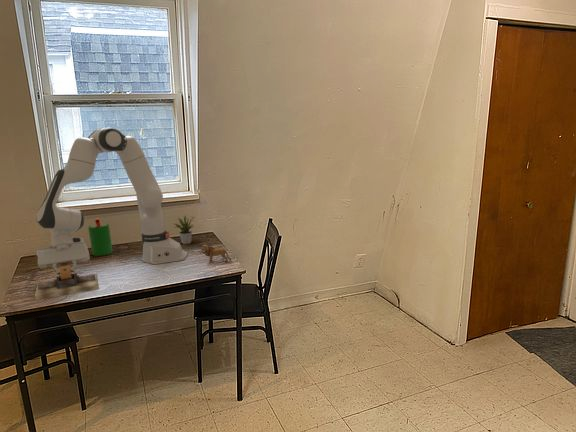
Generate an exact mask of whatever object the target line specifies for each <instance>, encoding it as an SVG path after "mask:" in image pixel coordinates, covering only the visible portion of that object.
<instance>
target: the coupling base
mask: <svg viewBox="0 0 576 432" xmlns="http://www.w3.org/2000/svg"><path fill="white" fill-rule="evenodd" d="M55 278H56V279H53V281H47V282H42V283H37V286H36V289H35V294H34V300H35V301H41V300H46V299H49V298H51V299H52V298H55V297H61V296H65V295H66V296H67V295H71V294H72V295H73V294H77V293H82V292H88V291H93V290H97V289H98V290H99V289H100V286H99V278H98V273H92V274H87V275H86V274H85V275H81V276H80V275H79V274H78V273H75V272H72V279H69V280H64V281H61V275H58V276H56V277H55Z"/></svg>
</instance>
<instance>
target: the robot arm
mask: <svg viewBox="0 0 576 432" xmlns="http://www.w3.org/2000/svg"><path fill="white" fill-rule="evenodd" d="M112 152H115V153H116V154H117V155H118V157H119V158H120V161H121V163H122V166H123V168H124V170H125V173H126V175H127V176H128V179H129V181H130V183H131V185H132V187H133V189H134V191H135V194H136V201H137V207H138V212H139V213H138V214H139V217H140V218H139V220H140V226H141V227H140V228H141V244H142V246H143V247H142V256H141V261H142V262H143V263H147V264H151V265H161V264H167V263H172V262H173V263H174V262H179V261H184V260H185V259H186V258H187V257H188V253H187V251H186V250H184V249H183V248H182V245H181V244H180V242H178V241H176V240H175V239H173V238H171V237H170V232H169V230H165V220H164V216H163V215H164V214H163V210H162V203H163V200H164V195H163V192H162V190H161V187H160V185H159V183H158V180H157V178H156V177H155V175H154V173H153V171H152V169H151V167H150V164H149V162H148V159H147V158H146V156H145V153H144V150H143V149H142V147H141V145H140V144H139V142H138V141H137V139H136V138H135V137H134V136H131V135H124V134H123V133H122V132H121V131H120V130H119V129H118V128H114V127H111V126H108V127H101V128H98V129H97V130H94V131H93V132H91V133H90V134H89V136H87V137H78V138H76V139H75V140H74V141H73V143H72V146H71V148H70V151H69V155H68V159H67V162H66V164H65V166H64V167H63V168H61V169H59V170H57V171H56V173H55V175H54V176H53V179H52V180H51V183H50V186H49V188H48V189H47V192H46V195H45V197H44V200H43V202H42V204H41V206H40V208H39V209H38V211H37V215H36V222H37V223H38V225H39V226H40V227H42V229H49V232H50V235H51V237H50V243H51V246H47V247H40V248H38V249H37V250H36V252H35V253H36V257H37V266H38V267H39V268H40V269H46V268H51V267H52V268H53V270H55V272H56V275H60V270H59V268H58V266H59V264H63V263H69V262H70V265H71V264H72V266H70V270H71V273H75V271H76V270H75V268H76V267H77V263H83V262H88V261H90V259H91V258H90V253H89V248H88V246H87V244H86V243H85V240H84V238H83V237H75V236H73V234H75V233H77V232H78V231H79V230H80V229H81V228H83V227H84V225H85V215H84V213H83V212H82V211H81V210H80V209H75V208H72V207H71V208H70V207H62V206H57V203H58V200H59V198H60V196H61V192H62V190H63V189H64V188H65V187H66V186H67V185H71V184H75V183H76V184H77V183H81V182H82V183H83V182H85V181H87V180H89V179H91V177H92V176H93V175H94V171H95V167H96V162H97V158H98V156H99V154H101V153H112Z"/></svg>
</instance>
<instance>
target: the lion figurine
mask: <svg viewBox="0 0 576 432" xmlns="http://www.w3.org/2000/svg"><path fill="white" fill-rule="evenodd" d="M200 249H201V253H202V254H203V255H205V257H209V263H210V264H211V263H213V257H218V256H221V257H222V258H221V261H224V260H225V263H228V262H229V261H232V258H230V257H229V255H228V252H227V250H226V249H225V248H223V247H222V248H214V247H213V246H211V245H208V244H203V245H202V246H201V248H200Z"/></svg>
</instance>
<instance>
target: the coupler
mask: <svg viewBox="0 0 576 432" xmlns="http://www.w3.org/2000/svg"><path fill="white" fill-rule="evenodd" d="M70 267H71V264H70V262H69V263H63V264H59V267H58V269H59V270H60V274H59V276H61V281H64V280H69V279H72V274H73V272H71V270H70Z"/></svg>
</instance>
